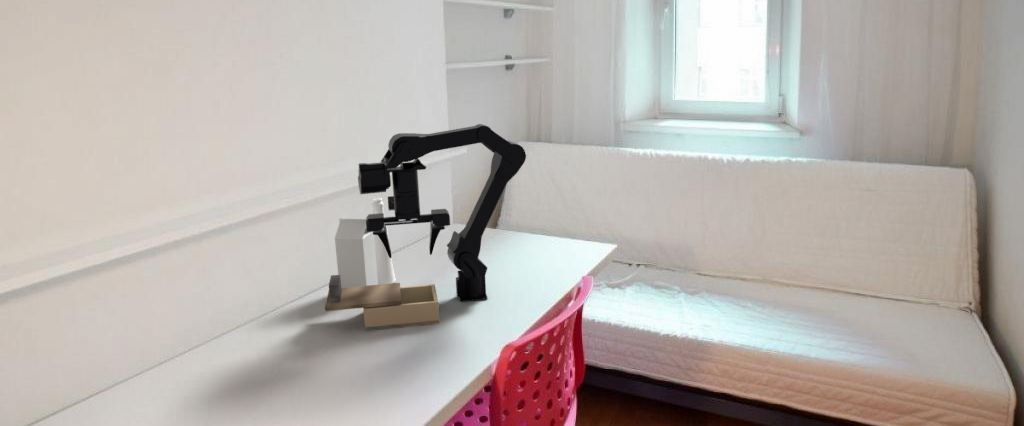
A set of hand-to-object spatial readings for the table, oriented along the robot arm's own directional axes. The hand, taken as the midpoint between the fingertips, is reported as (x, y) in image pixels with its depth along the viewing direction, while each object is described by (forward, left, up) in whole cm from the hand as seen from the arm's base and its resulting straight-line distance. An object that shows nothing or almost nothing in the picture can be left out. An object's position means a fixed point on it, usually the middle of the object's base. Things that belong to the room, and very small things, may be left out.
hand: (410, 256), depth 166 cm
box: (+3, +7, -12) cm, 14 cm away
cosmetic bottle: (+7, -19, -12) cm, 24 cm away
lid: (+11, +7, -7) cm, 15 cm away
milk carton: (+13, -12, -12) cm, 21 cm away
